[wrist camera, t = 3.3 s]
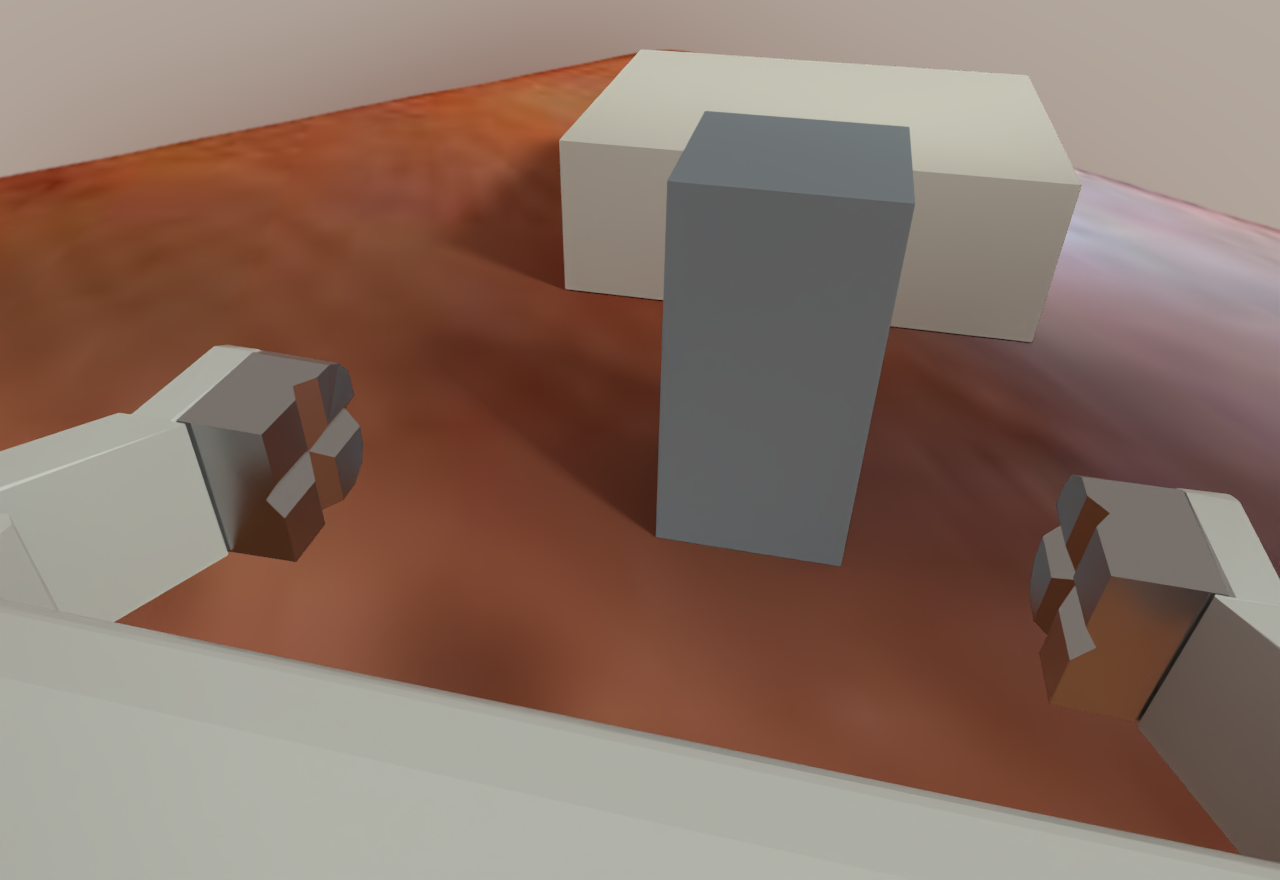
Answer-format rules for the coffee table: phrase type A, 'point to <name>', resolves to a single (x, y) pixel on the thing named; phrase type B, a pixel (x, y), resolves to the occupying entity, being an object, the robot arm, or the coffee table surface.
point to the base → (886, 95)
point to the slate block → (776, 327)
